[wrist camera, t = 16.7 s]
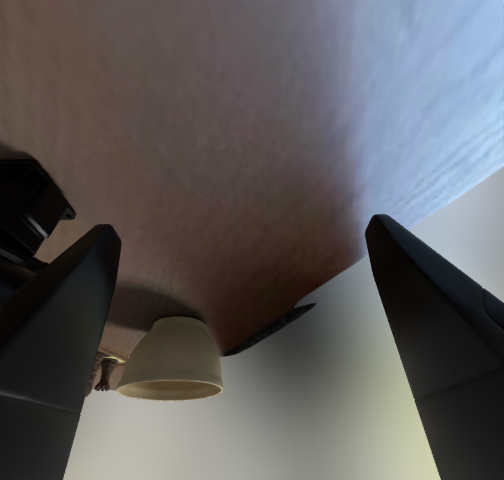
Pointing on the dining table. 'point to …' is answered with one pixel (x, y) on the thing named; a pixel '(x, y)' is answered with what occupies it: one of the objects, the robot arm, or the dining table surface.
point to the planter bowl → (173, 363)
